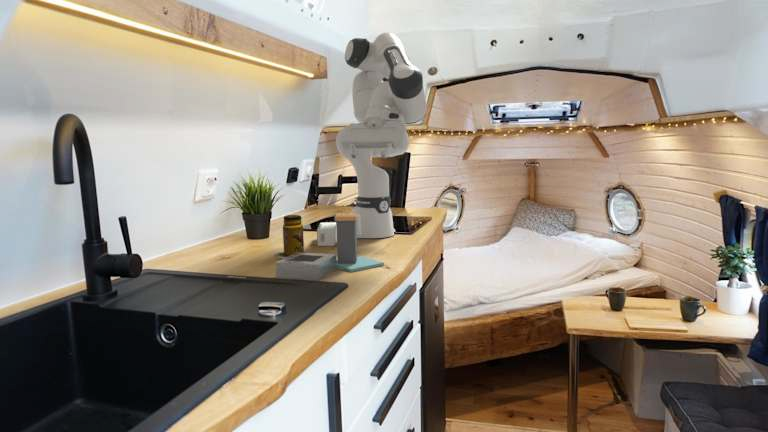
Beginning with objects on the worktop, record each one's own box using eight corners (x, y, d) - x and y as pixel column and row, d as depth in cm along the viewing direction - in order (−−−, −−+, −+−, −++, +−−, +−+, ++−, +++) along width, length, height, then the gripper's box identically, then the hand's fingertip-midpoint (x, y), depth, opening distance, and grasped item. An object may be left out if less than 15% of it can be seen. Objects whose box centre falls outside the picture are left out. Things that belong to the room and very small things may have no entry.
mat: (328, 264, 142) (328, 261, 142) (360, 258, 149) (360, 255, 149) (350, 272, 134) (350, 269, 134) (383, 265, 141) (383, 262, 140)
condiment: (307, 256, 153) (305, 216, 151) (278, 259, 150) (277, 218, 148) (302, 251, 160) (301, 213, 158) (275, 254, 157) (273, 215, 155)
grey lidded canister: (338, 259, 145) (337, 213, 143) (358, 258, 145) (357, 213, 143) (336, 264, 140) (334, 217, 138) (357, 263, 139) (356, 216, 137)
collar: (297, 266, 141) (297, 252, 140) (336, 268, 137) (336, 254, 137) (276, 277, 130) (275, 262, 129) (318, 280, 127) (317, 264, 126)
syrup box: (317, 246, 167) (320, 238, 181) (335, 246, 167) (337, 237, 181) (316, 229, 166) (319, 222, 180) (334, 228, 166) (336, 221, 180)
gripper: (343, 116, 157) (331, 149, 149) (407, 114, 151) (399, 148, 143) (349, 131, 162) (338, 164, 154) (411, 130, 155) (403, 164, 148)
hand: (368, 156), depth 148 cm, fingers open, 8 cm apart
